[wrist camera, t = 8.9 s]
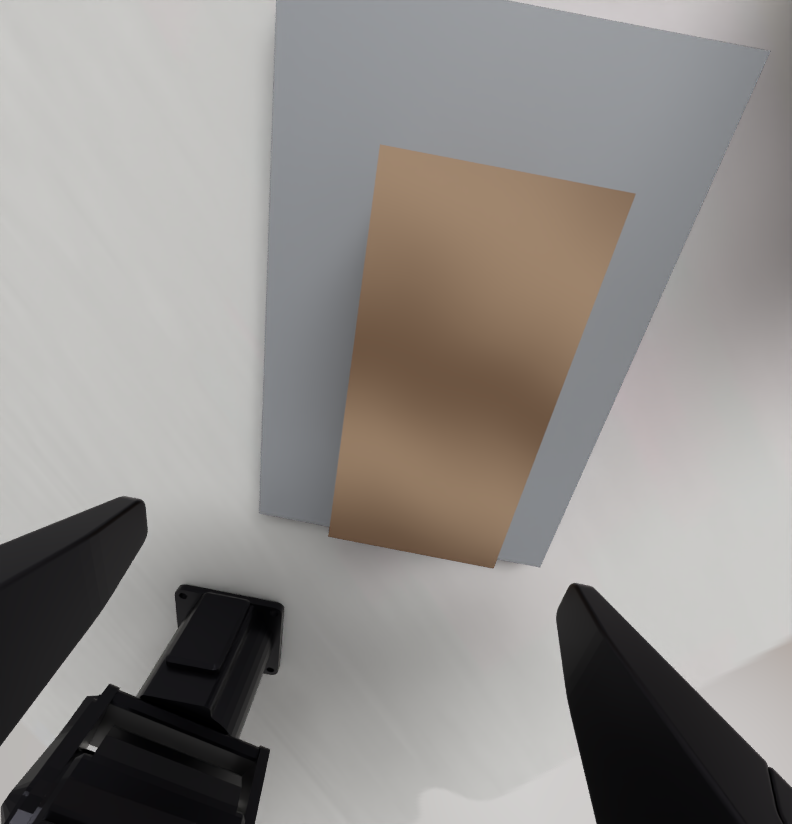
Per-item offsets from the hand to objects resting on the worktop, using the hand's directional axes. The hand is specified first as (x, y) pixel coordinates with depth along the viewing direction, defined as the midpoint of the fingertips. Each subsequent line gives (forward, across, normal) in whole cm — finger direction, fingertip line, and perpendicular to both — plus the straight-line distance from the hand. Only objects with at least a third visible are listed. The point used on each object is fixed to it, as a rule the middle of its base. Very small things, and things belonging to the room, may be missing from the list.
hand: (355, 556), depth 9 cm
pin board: (+11, -2, -2) cm, 11 cm away
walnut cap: (+9, -2, -2) cm, 10 cm away
